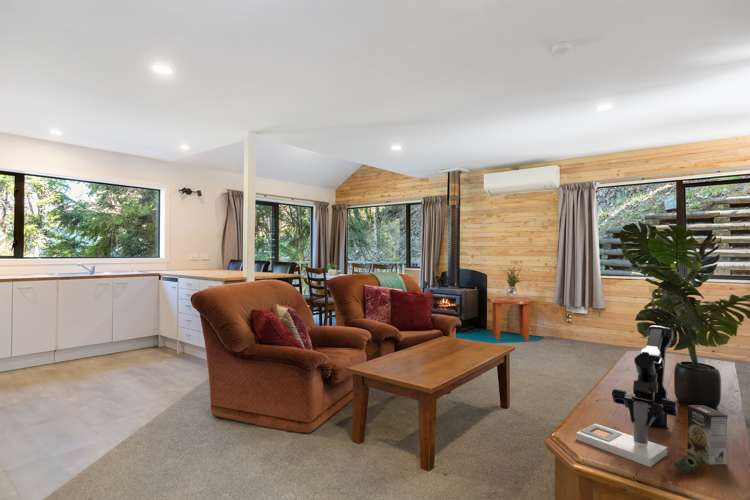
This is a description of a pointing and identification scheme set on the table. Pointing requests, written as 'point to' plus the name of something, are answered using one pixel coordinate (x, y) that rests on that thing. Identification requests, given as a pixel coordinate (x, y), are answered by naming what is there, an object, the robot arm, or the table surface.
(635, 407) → the grey cylinder
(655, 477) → the table surface
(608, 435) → the button
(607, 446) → the panel
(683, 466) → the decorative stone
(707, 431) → the coffee box
